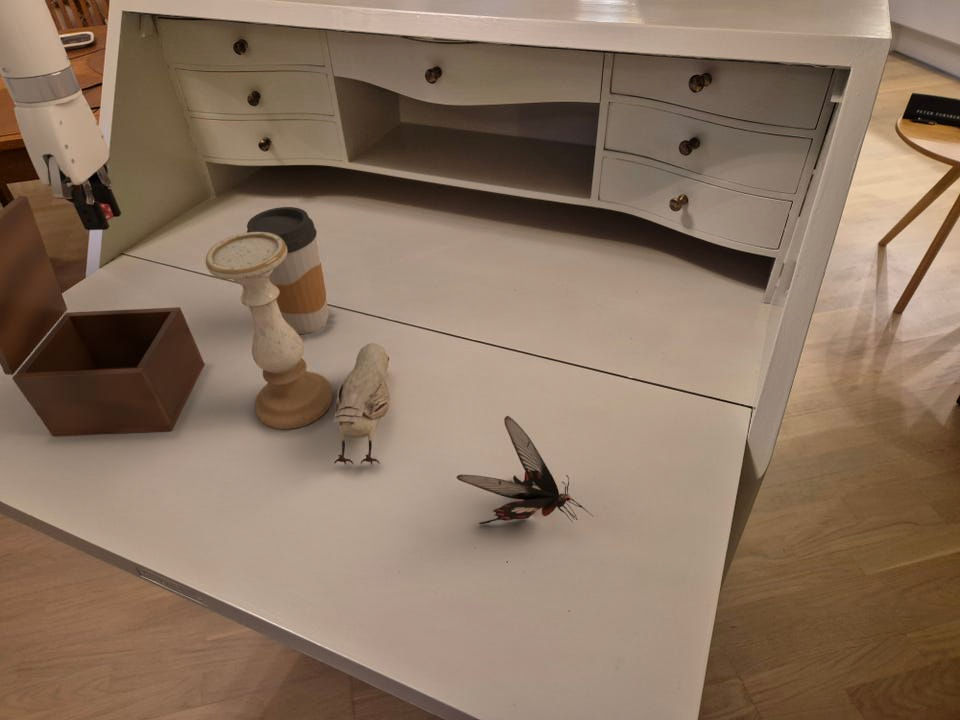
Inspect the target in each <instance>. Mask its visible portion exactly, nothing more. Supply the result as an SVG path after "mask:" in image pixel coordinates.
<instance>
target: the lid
mask: <svg viewBox="0 0 960 720" xmlns="http://www.w3.org/2000/svg"><path fill="white" fill-rule="evenodd" d="M32 209H33V208H32V206H31V204H30V201H29V199H28V196H27V195H18V196H16V197H15V198H14V199H13V200H12V201H10V202H9V203H8V204H7V205H5V206H4V207H3V208H1V210H0V366H1V368H2V370H3V373H4V374H5V375H10V376H14V375H15V374H16V373H17V371H18V370H19V369H20V368H21V367H22V365H23V364H24V363H25V362H26V361H27V359H28V358H29V357H30V356H31V355H32V353H33V352H34V351H35V350H36V349H37V347H38V346H39V345H40V344H41V342H42V341H43V340H44V339H45V338H46V336H47V335H48V334H49V333H50V332H51V330H52V329H53V328H54V327H55V326H56V324H57V323H58V322H59V321H60V320H61V318H62V317H63V316H64V315H65V313H67V311H68V307H67V304H66V301H65V299H64V295H63V293H62V291H61V287H60V284H59V282H58V279H57V276H56V273H55V270H54V268H53V265H52V262H51V259H50V256H49V254H48V252H47V248H46V246H45V243H44V239H43V237H42V234H41V232H40V229H39V226H38V223H37V221H36V218H35V215H34V212H33V210H32Z"/></svg>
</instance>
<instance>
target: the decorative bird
mask: <svg viewBox="0 0 960 720" xmlns="http://www.w3.org/2000/svg"><path fill="white" fill-rule="evenodd" d="M389 362H390V357H389V355H388V352H387V351H386V349H385V348H384V347H383V346H382V345H380V344H378V343H373V342H372V343H371V342H370V343H368V344H365V345H364V346H363V347H361V348H360V350H359V352H358V353H357V357H356V359H355V364H354V367H353V369H352V371H350V373H348V375H347V377H346V378H345V379H344V381H343V383H342V384H340V385H339V388H338V389H337V392H336V401H335V405H334V413H335V414H334V419H333V420H332V423H333V424H335V423H337V425H338V428H339V430H340V441H341V454H338V455H337V456H338V458H337V459H335V461H334V462H333V464H336V463H337V462H339V463H344V465H345V466H346V465H347V462H350V463H351V464H352V465H355V464H354V462H353V460H351V459H350V458H346V457H345V451H346V439H347V437H348V436H350V437H354V438H366V437H367V441H368V453H367V454H365V458H363V459H362V460H361V461H360V464H363V463H364V462H367V463H370V464H371V466H372V465H373V462H377V463H378V464H379V465H381V462H380V460H378V459H377V458H374V457H372V448H373V444H372V443H373V439H374V435H375V431H376V428H377V424H378V423H379V421H380V420H381V418H384V417H385V416H386V414H387V413H388V411H389V409H390V406H391V397H390V393H389V386H388V385H387V384H388V383H387V381H386V373H387V370H388V368H389Z"/></svg>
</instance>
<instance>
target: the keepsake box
mask: <svg viewBox="0 0 960 720" xmlns="http://www.w3.org/2000/svg"><path fill="white" fill-rule="evenodd" d="M204 366H205V362H204V359H203V356H202V355H201V352H200V350H199V347H198V345H197V343H196V341H195V338H194V336H193V334H192V330H191V329H190V327H189V325H188V323H187V320H186V317H185V316H184V313H183V310H182V308H181V307H179V306H177V307H155V308H134V309H115V310H114V309H113V310H94V311H93V310H92V311H91V310H90V311H71V312H70V311H69V312H67V311H66V312H65V313H64V314H63V315H62V317H61V318H60V319H59V320H58V321H57V323H56V324H55V325H54V326H53V327H52V329H51V330H50V331H49V332H48V333H47V335H46V336H45V337H44V338H43V339H42V341H41V342H40V343H39V344H38V345H37V347H36V348H35V349H34V350H33V351H32V353H31V354H30V355H29V356H28V358H27V359H26V360H25V361H24V362H23V364H22V365H21V366H20V367H19V368H18V370H17V371H16V372H15V373H14V374H13V375H12V377H11V379H12V380H13V382H14V384H15V385H16V386H17V388H18V389H19V390H20V392H21V393H22V395H23V396H24V397H25V399H26V400H27V402H28V404H29V405H30V406H31V408H32V409H33V410H34V412H35V413H36V415H37V416H38V417H39V419H40V420H41V422H42V423H43V425H44V426H45V427H46V429H47V430H48V432H49V434H51V436H52V437H63V436H65V437H66V436H87V435H88V436H89V435H90V436H91V435H112V434H114V435H115V434H137V433H158V432H159V433H160V432H172V431H173V429H174V427H175V425H176V423H177V421H178V419H179V417H180V415H181V414H182V411H183V409H184V407H185V405H186V403H187V401H188V399H189V396H190V395H191V393H192V391H193V389H194V387H195V384H196V383H197V381H198V378H199V377H200V375H201V373H202V370H203V368H204Z"/></svg>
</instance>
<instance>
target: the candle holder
mask: <svg viewBox="0 0 960 720" xmlns="http://www.w3.org/2000/svg"><path fill="white" fill-rule="evenodd" d="M287 251H288V250H287V246H286V244H285V242H284V240H283V239H282V238H281V237H279V236H278V235H275V234H273V233H268V232H248V233H247V232H243V233H238V234H235V235H231V236H230V237H227V238H224V239H223V240H220V241H218V242H217V243H216V244H214V245H213V246H212V247H211V248H210V249H209V250H208V252H207V253H206V256H205V261H204V263H205V267H206V269H207V270H208V272H209V274H211V275H212V276H215V277H216V278H219V279H221V280H232V281H233V282H235V283H239V284H240V286H242V292H241V295H240V302H241V304H242V305H244V306H246V307H248V308H249V311H250V314H251V318H252V320H253V326H254V328H253V330H254V331H253V336H252V340H251V341H252V342H251V356H252V359H253V361H254V363H255V364H256V365H257V366H258V367H259V368H260V369H262V377H263V379H264V381H265V382H266V384H265V385H264V386H263V387H262V389H260V390H259V392H258V394H257V395H256V398H255V399H254V400H255V401H254V409H255V412H256V415H257V417H258V418H259V420H260V421H261V422H262V423H263V424H265V425H267V426H268V427H271V428H275V429H278V430H279V429H280V430H290V429H297V428H301V427H304V426H307V425H309V424H312V423H313V422H315V421H317V420H318V419H320V418H321V417H322V416H323V415H324V414H325V413H326V412H328V409H329V408H330V406H331V404H332V402H333V398H334V393H333V392H334V391H333V387H332V385H331V382H330V381H329V380H328V379H327V378H326V377H325V376H323V375H321V374H320V373H317V372H312V371H308V370H307V367H308V365H307V362H306V361H305V359H304V358H303V356H304V353H305V346H304V341H303V339H302V338H301V336H300V334H298V333H297V332H296V331H295V330H294V329H293V328H292V327H291V326H290V325H289V324H288V323H287V322H286V321H285V320H284V318H283V316H282V314H281V312H280V309H279V306H278V304H277V300H276V299H277V298H278V296H279V293H280V291H279V289H278V287H276V286H275V285H274V284H272V283H271V282H270V274H271V273H272V271H273V269H274V268H276V267H277V266H279V265H280V264H281V263H282V262H283V261H284V260H285V258H286V256H287Z"/></svg>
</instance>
